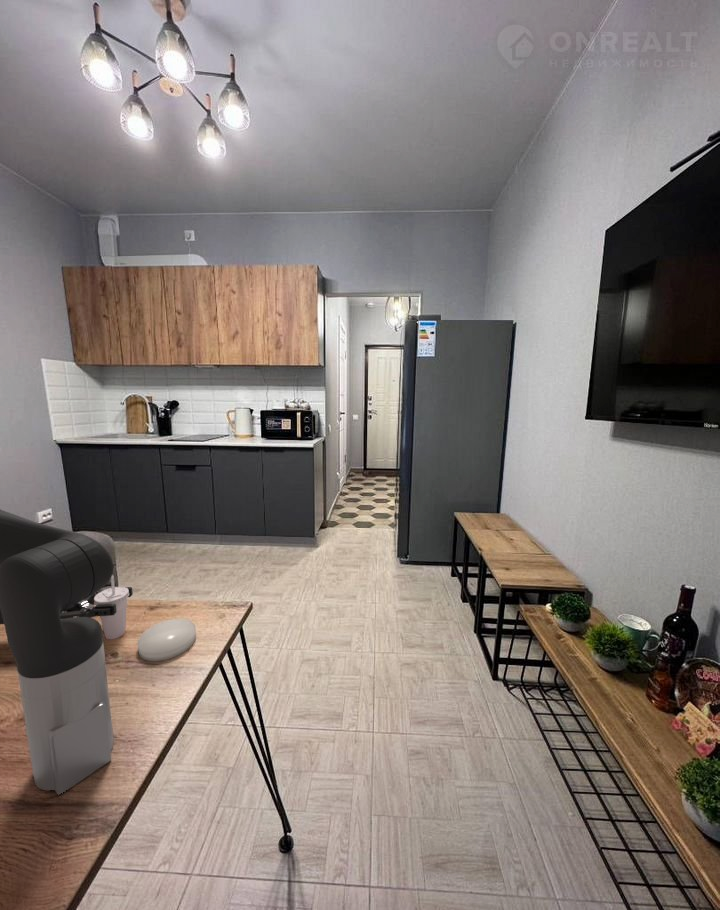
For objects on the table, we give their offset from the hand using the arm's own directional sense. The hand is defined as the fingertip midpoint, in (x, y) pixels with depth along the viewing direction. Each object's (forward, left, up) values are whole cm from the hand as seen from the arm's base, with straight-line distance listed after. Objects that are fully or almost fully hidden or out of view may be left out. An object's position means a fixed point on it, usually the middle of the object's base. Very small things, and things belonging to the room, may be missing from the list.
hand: (123, 600), depth 79 cm
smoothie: (+2, +2, -8) cm, 9 cm away
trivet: (-10, -4, -8) cm, 14 cm away
